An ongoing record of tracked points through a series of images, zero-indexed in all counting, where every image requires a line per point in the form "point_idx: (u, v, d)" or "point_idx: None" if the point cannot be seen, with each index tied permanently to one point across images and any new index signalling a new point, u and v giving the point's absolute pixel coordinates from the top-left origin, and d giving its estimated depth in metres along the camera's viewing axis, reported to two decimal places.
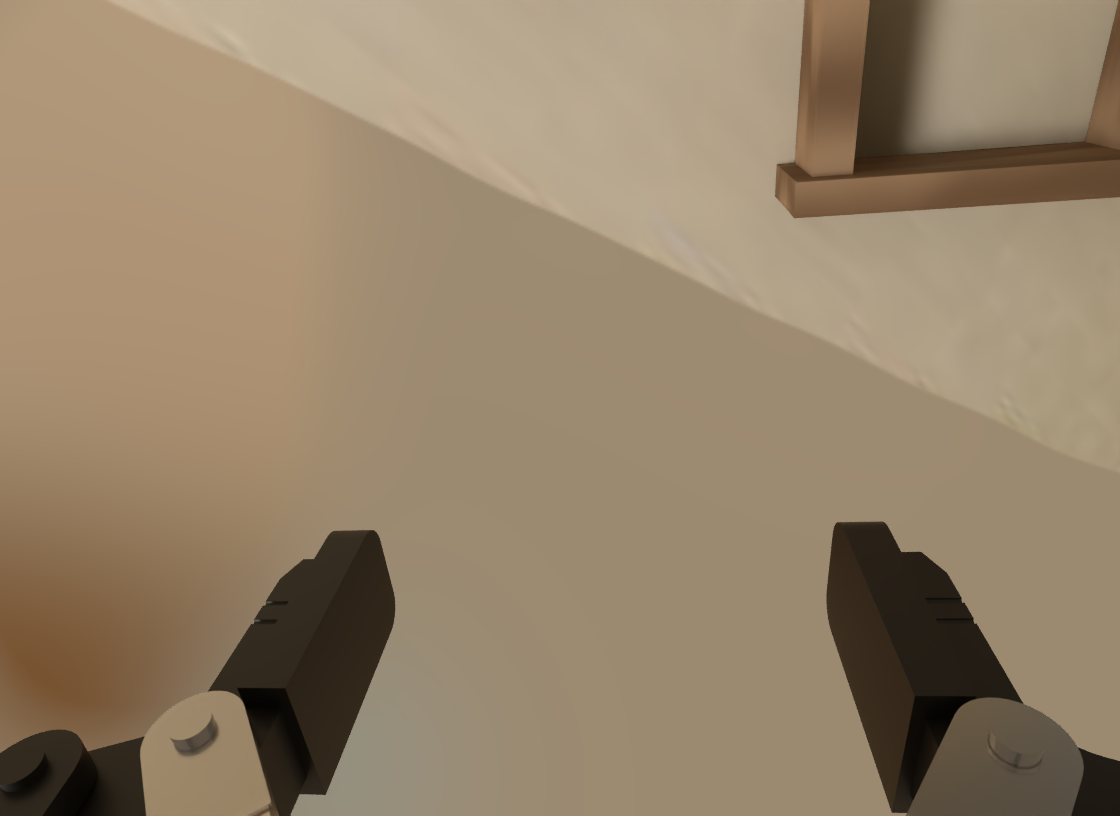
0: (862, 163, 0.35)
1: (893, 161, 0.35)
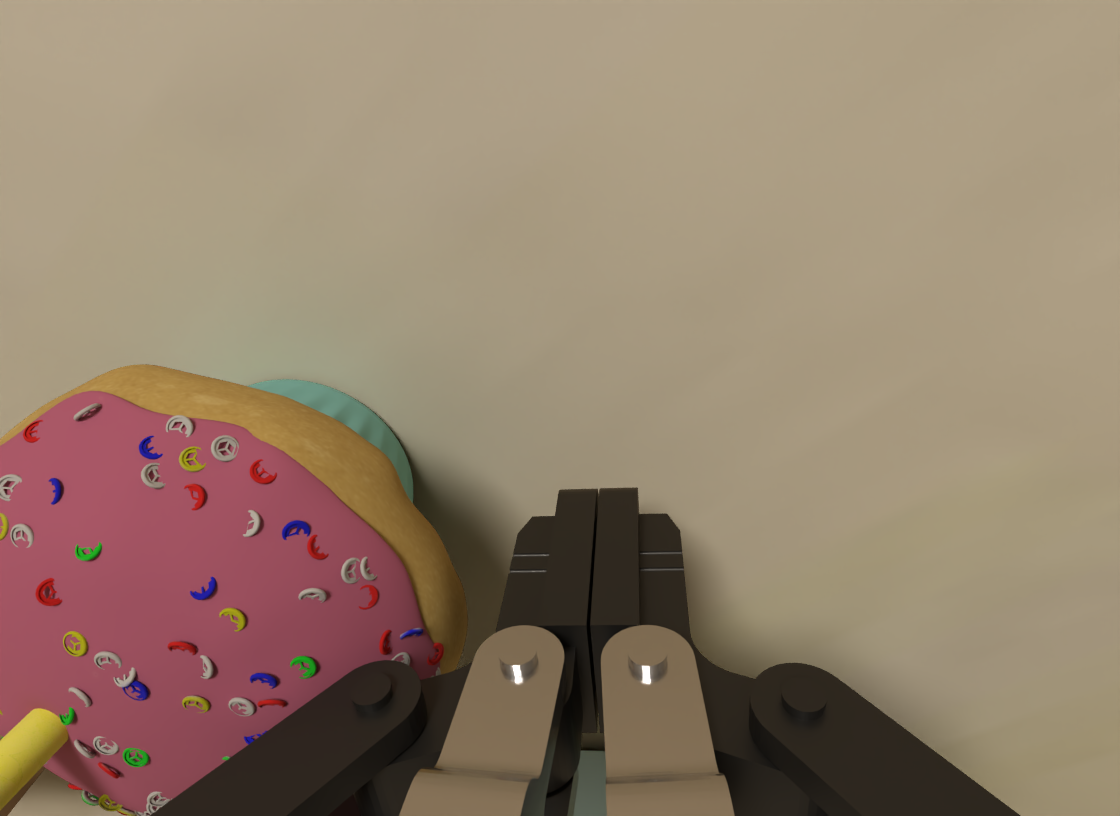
0: None
1: None
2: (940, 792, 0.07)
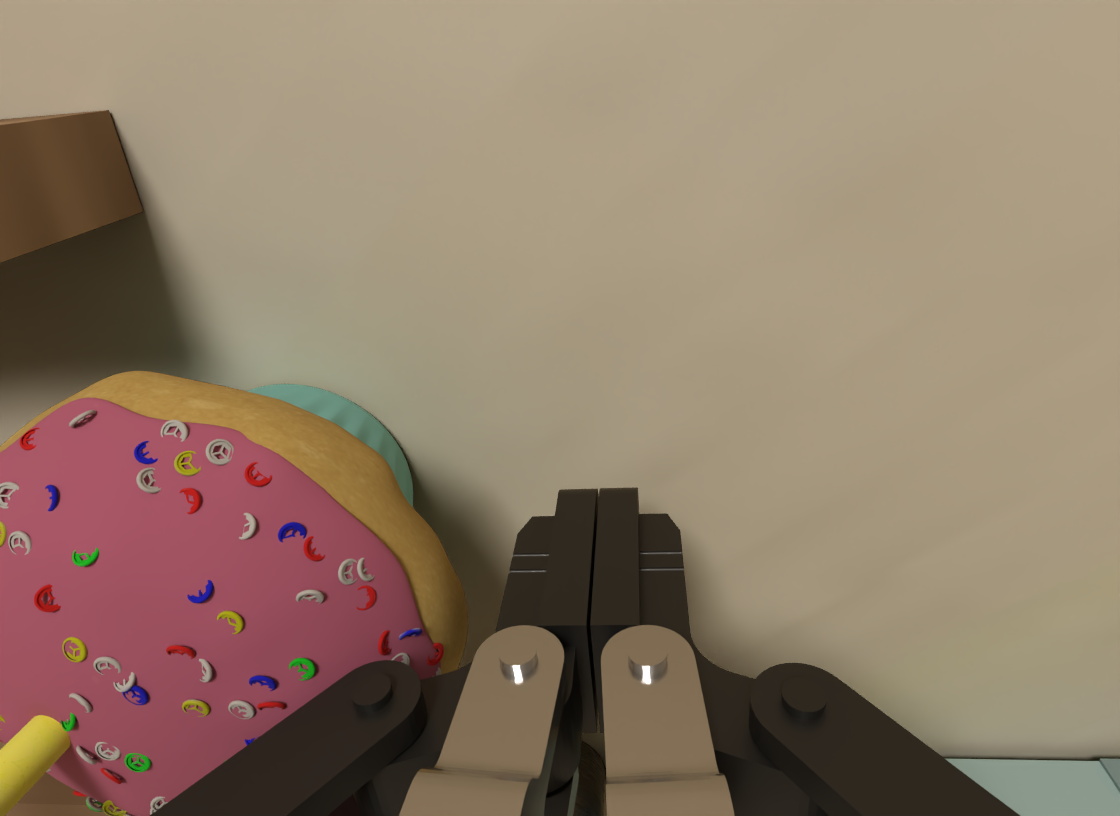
0: None
1: None
2: (940, 792, 0.07)
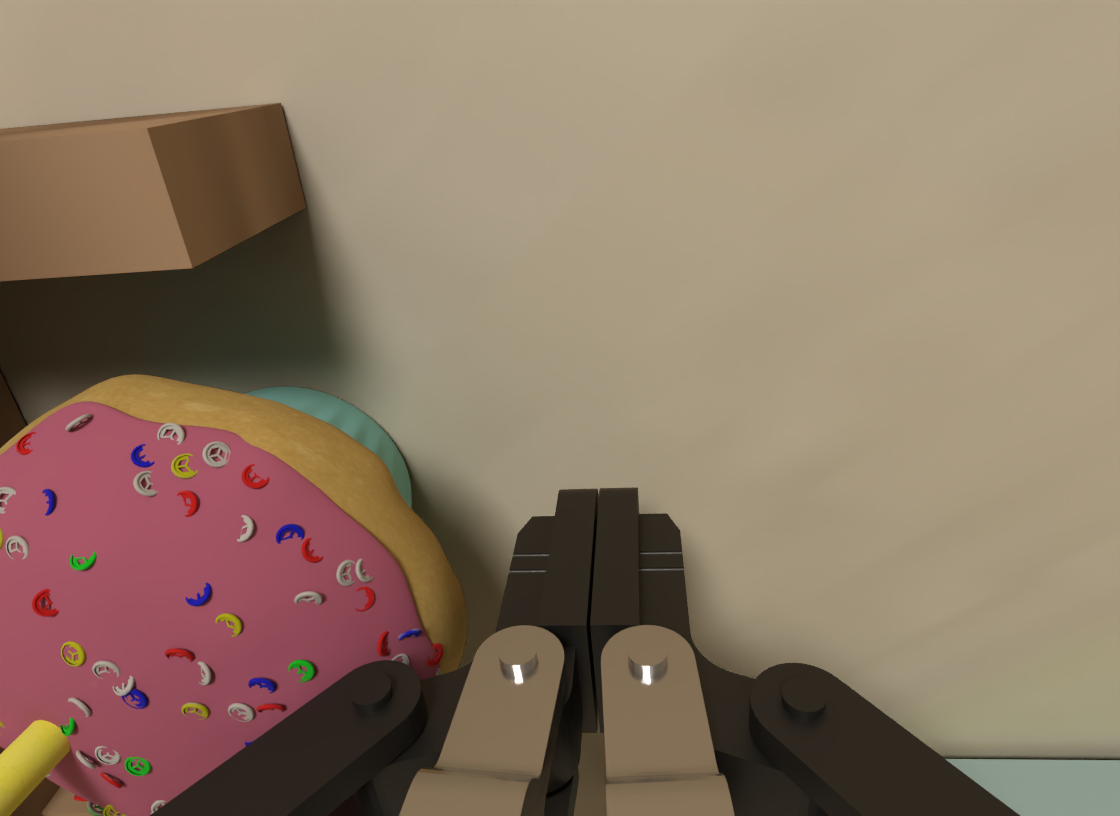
0: None
1: None
2: (940, 792, 0.07)
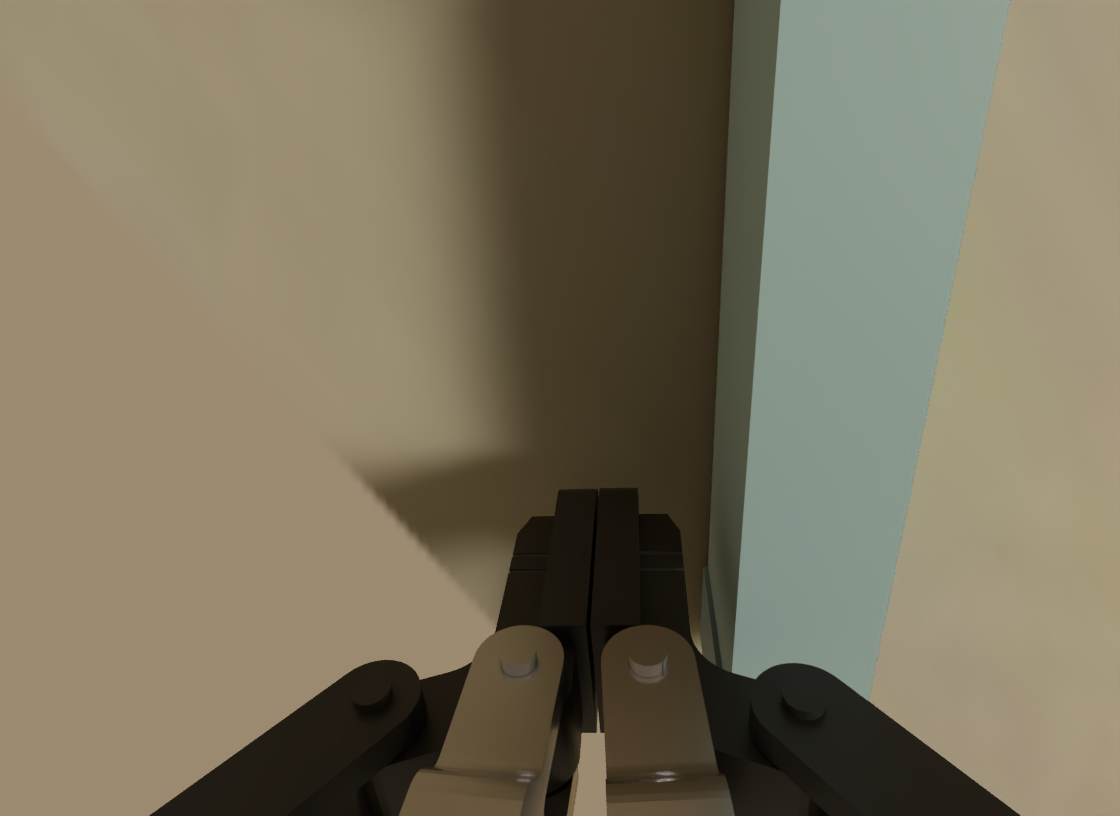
0: None
1: None
2: (940, 792, 0.07)
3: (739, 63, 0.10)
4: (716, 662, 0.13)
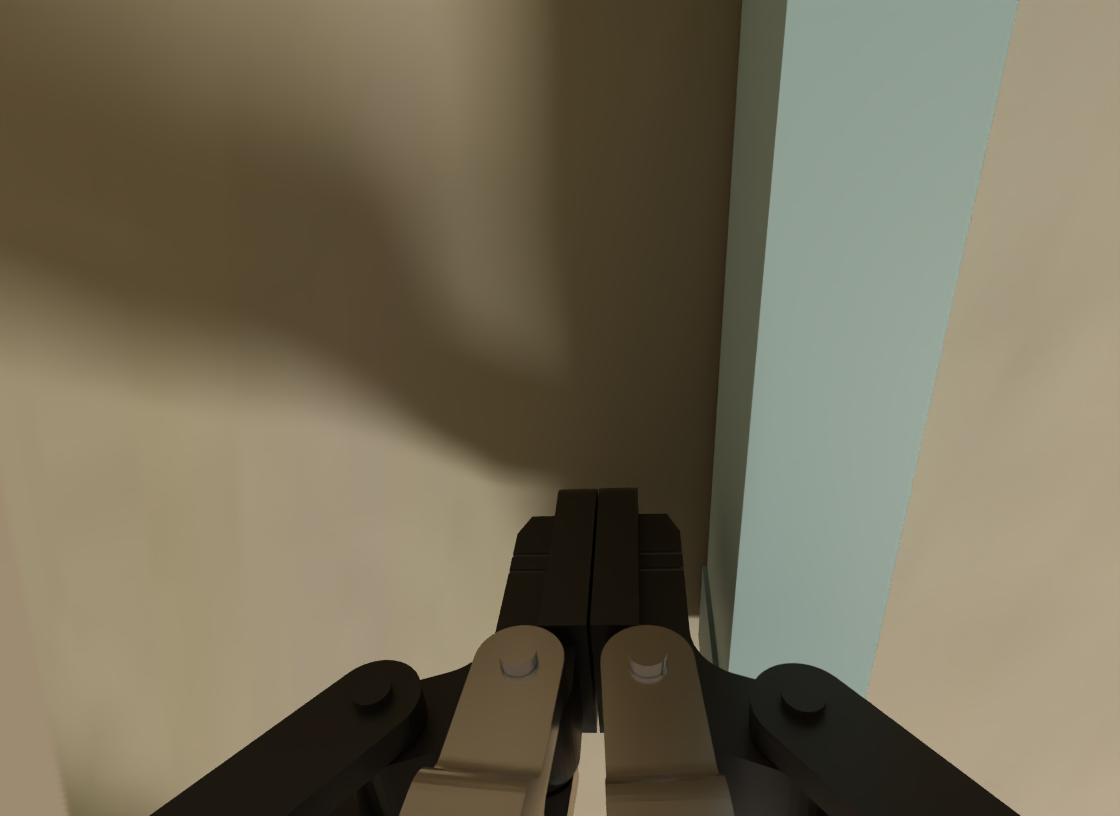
0: None
1: None
2: (940, 792, 0.07)
3: (745, 66, 0.10)
4: (713, 663, 0.13)
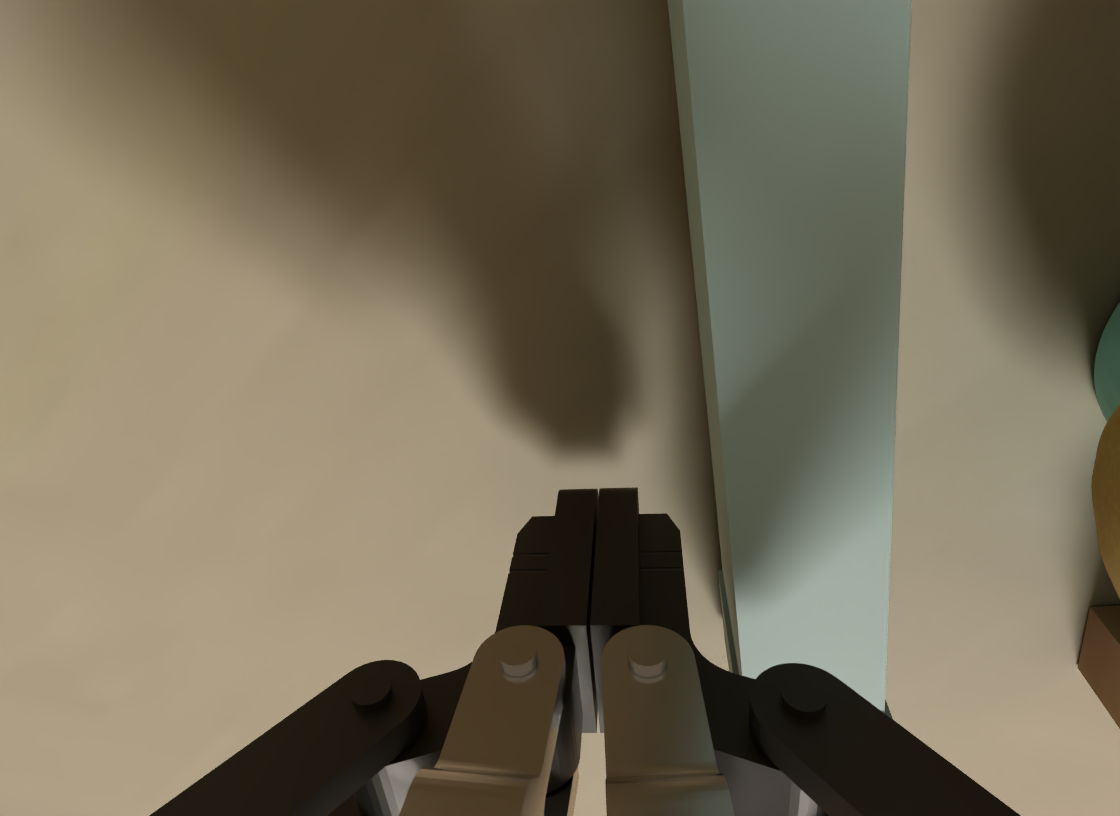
0: None
1: None
2: (940, 793, 0.07)
3: (677, 77, 0.10)
4: (733, 667, 0.13)
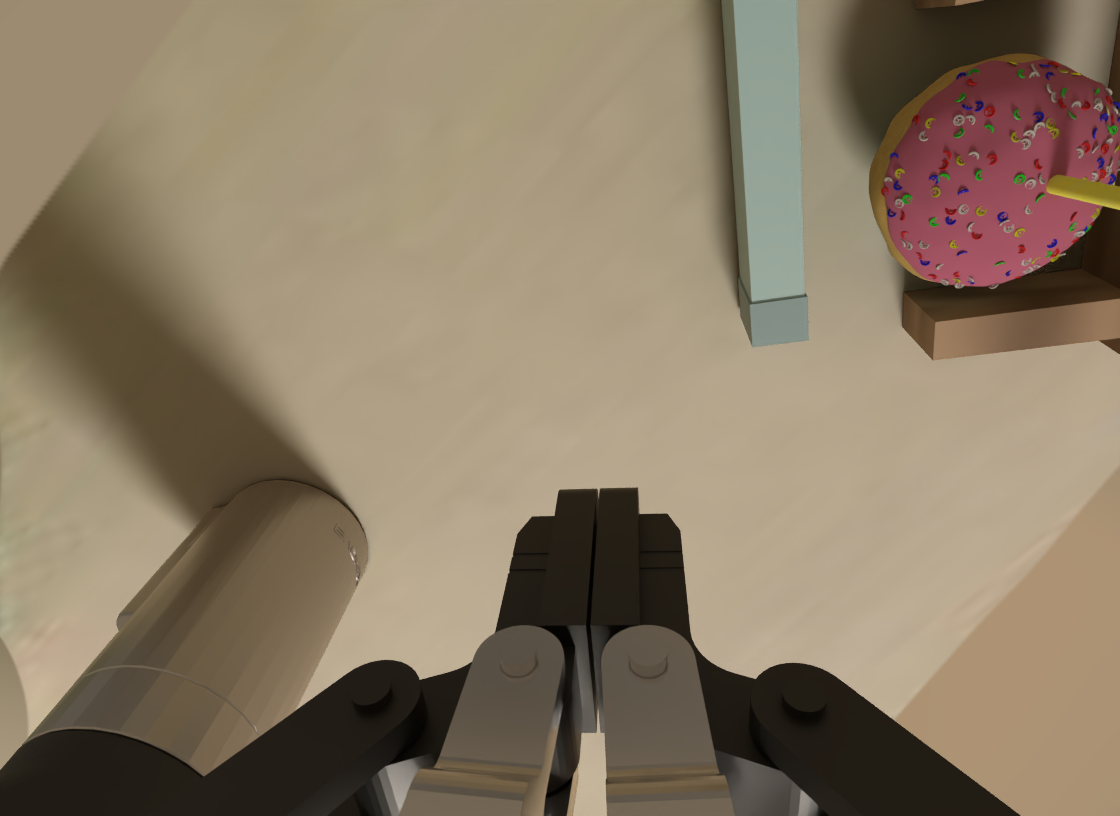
0: (1103, 253, 0.31)
1: (1109, 220, 0.30)
2: (940, 793, 0.07)
3: (727, 52, 0.29)
4: (746, 295, 0.32)
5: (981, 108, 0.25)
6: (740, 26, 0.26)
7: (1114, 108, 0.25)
